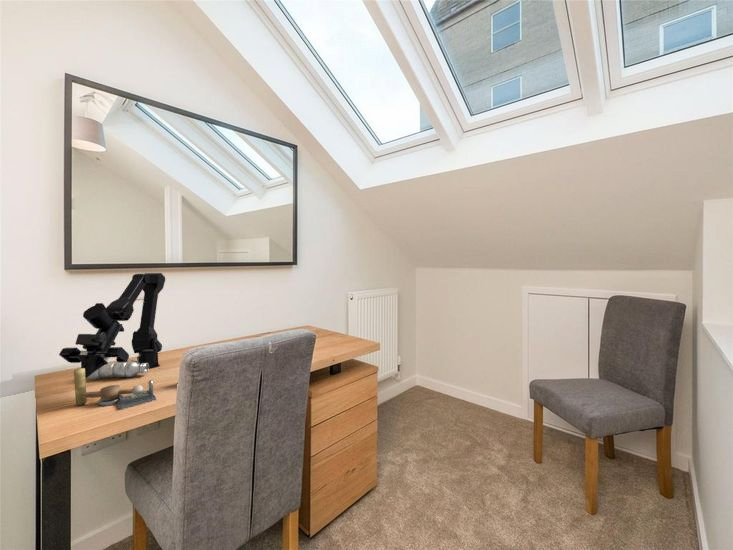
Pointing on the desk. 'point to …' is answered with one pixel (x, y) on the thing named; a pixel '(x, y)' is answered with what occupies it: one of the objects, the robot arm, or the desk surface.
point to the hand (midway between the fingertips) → (81, 379)
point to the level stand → (131, 399)
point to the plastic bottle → (120, 370)
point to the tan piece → (104, 393)
